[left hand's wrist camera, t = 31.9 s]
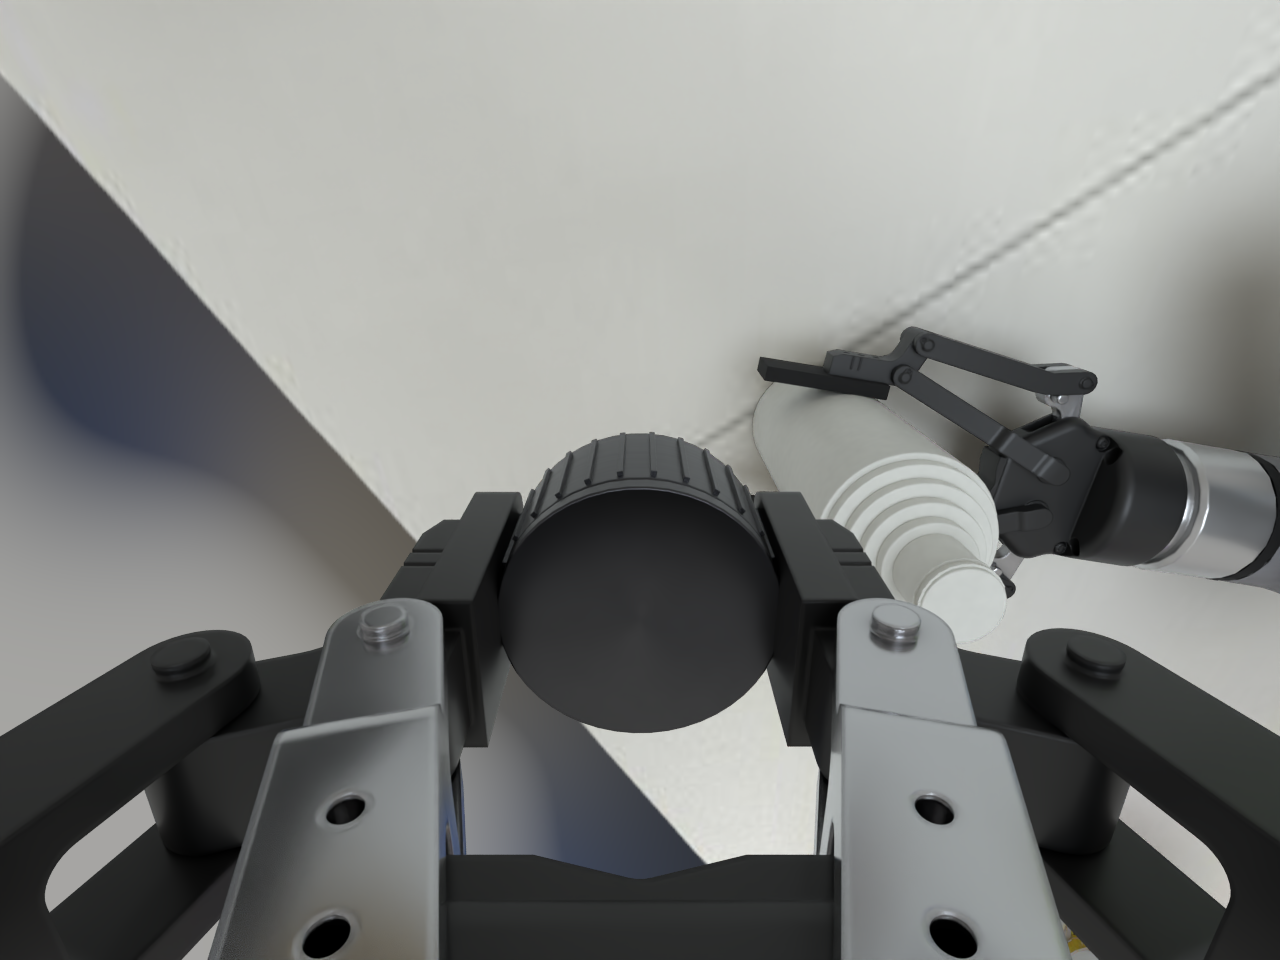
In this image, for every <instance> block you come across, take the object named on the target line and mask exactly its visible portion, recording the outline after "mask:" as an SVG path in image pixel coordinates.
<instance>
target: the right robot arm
mask: <svg viewBox="0 0 1280 960" xmlns="http://www.w3.org/2000/svg"><path fill="white" fill-rule="evenodd" d="M927 358H929V359H932V360H936V361H939V362H942V363H945V364H948V365H951V366H954V367H957V368H960V369H964V370H967V371H970V372H973V373H976V374H979V375H982V376H985V377H988V378H992V379H995V380H998V381H1001V382H1004V383H1007V384H1010V385H1013V386H1016V387H1020V388H1023V389H1026V390H1029V391H1032V392H1035V393H1036V398H1037V399H1038V401H1040V402H1042V403H1044V404H1046V405H1048V406H1051V408H1052V413H1051V414H1049V415H1047V416H1044V417H1042V418H1040V419H1038V420H1035V421H1033V422H1031V423H1028V424H1026V425H1024V426H1022V427H1019V428H1017V429H1015V430H1012V431H1011V430H1009V429H1007V428H1006V427H1004V426H1003V425H1001V424H999V423H998V422H996V421H995V420H993V419H992V418H990V417H988V416H987V415H985V414H984V413H982V412H981V411H979V410H978V409H976V408H975V407H973V406H971V405H970V404H968V403H967V402H965V401H964V400H962V399H961V398H959V397H957V396H956V395H954V394H953V393H951V392H950V391H948V390H947V389H945V388H943V387H942V386H940V385H939V384H937V383H936V382H934V381H933V380H931V379H929V378H928V377H926V376H925V375H923V374H922V373H920V372H919V371H918V370H919V369H920V368H921V366H922V365H923V363H924V362H925V361H926V359H927ZM757 370H758V372H759V373H760V375H761V376H762V377H763V379H764V380H765V381H771V382H778V383H784V384H790V385H796V386H802V387H808V388H815V389H821V390H827V391H833V392H839V393H845V394H851V395H858V396H864V397H870V398H876V399H882V400H886V399H887V396H888V393H889V389H890V386H889V385H893V386H897V387H898V388H900V389H902V390H903V391H905V392H906V393H908V394H909V395H911V396H913V397H914V398H916V399H917V400H919V401H921V402H922V403H924V404H925V405H927V406H928V407H930V408H932V409H933V410H935V411H936V412H938V413H939V414H941V415H943V416H944V417H946V418H947V419H949V420H950V421H952V422H954V423H955V424H957V425H958V426H960V427H961V428H963V429H965V430H966V431H968V432H969V433H971V434H973V435H974V436H976V437H977V438H979V439H980V440H982V441H984V442H985V443H987V444H988V445H989V447H988V446H984V448H983V451H982V454H981V457H980V466H979V473H978V474H977V475H978V476H979V478H980V479H981V480H982V481H983V482H984V484H985V485H986V487H987V488H988V490H989V492H990V493H991V496H992V498H993V501H994V504H995V508H996V512H997V519H998V527H999V538H998V539H999V540H1000V542H1001V543H1002V544H1003V545H1002V546H1001V548H999V549H998V550H996V554H995V557H994V560H993V562H992V564H991V566H990V568H991V569H992V570H993V571H994V572H995V573H996V574H997V575H998V576H999V577H1000V578H1001V580H1002V582H1003V584H1004V586H1005V591H1006V596H1007V598H1009V597H1011V596H1012V595H1013V594H1014V593H1015V590H1016V586H1015V585H1014V583H1013V582H1012V581H1011V580H1010V579H1011V578H1012V576H1013V574H1014V573H1015V571H1016V570H1017V568H1018V567H1019V565H1020V564H1021V562H1022V560H1023V559H1024V558H1033V557H1036V556H1040V555H1044V554H1056V555H1060V556H1065V557H1069V558H1075V559H1082V560H1088V561H1095V562H1101V563H1108V564H1114V565H1121V566H1134V567H1137V568H1139V569H1144V570H1151V571H1159V572H1166V573H1173V574H1180V575H1187V576H1194V577H1201V578H1206V579H1212V580H1221V581H1227V582H1233V583H1239V584H1244V585H1250V586H1256V587H1262V588H1265V589H1269V590H1272V591H1275V592H1277V593H1279V594H1280V457H1273V456H1267V455H1260V454H1254V453H1248V452H1242V451H1237V450H1230V449H1224V448H1219V447H1213V446H1207V445H1201V444H1196V443H1190V442H1184V441H1178V440H1173V439H1159V438H1157V437H1154V436H1149V435H1142V434H1136V433H1130V432H1124V431H1118V430H1112V429H1106V428H1099V427H1093V426H1090V425H1088V424H1087V423H1086V422H1085V421H1084V420H1083V419H1081V418H1080V412H1081V406H1082V401H1083V395H1084V394H1088V393H1090V392H1092V391H1093V390H1094V389H1095V387H1096V385H1097V377H1096V375H1095V374H1093V373H1092V372H1089V371H1086V370H1083V369H1080V368H1077V367H1074V366H1071V365H1069V364H1065V363H1053V364H1028V363H1025V362H1022V361H1019V360H1016V359H1013V358H1009V357H1006V356H1003V355H1000V354H997V353H994V352H991V351H988V350H985V349H982V348H979V347H976V346H973V345H969V344H966V343H963V342H960V341H957V340H954V339H951V338H948V337H945V336H942V335H939V334H936V333H933V332H929V331H926V330H923V329H920V328H917V327H909V328H907V329H905V330H904V331H903V332H902V334H901V337H900V342H899V344H898V345H897V347H896V348H895V350H894V351H893V352H892V353H890V354H889V355H884V356H874V355H868V354H862V353H855V352H850V351H844V350H838V349H836V350H832V351H827V354H826V357H825V361H824V365H823V367H820V366H814V365H807V364H801V363H795V362H789V361H783V360H777V359H771V358H765V357H760V360H759V364H758V369H757ZM751 498H752V500H753V503H754V498H755V495H751Z"/></svg>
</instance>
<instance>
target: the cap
mask: <svg viewBox="0 0 1280 960" xmlns="http://www.w3.org/2000/svg"><path fill="white" fill-rule="evenodd" d="M774 558H775V557H774V554H773V551H772V548H771V546H770V543H769V540H768V538H767V535H766V532H765V530H764V527H763V524H762V522H761V519H760V516H759V514H758V511H757V508H755V506H754V503H753V500H752V498H751V495H750V492H749V489H748V487H747V486H746V485H744V486H742V484H741V483H740V482H739V480H738V479H737V478H736V476H735V475H734V474H733V471H732V468H731V467H730V466H729V465H727V466H725V465H724V464H723V463H722V462H721V461H719V460H718V459H717V458H715V457H714V456H712V455H711V454H710V451H709V450H707V449H706V448H705V449H704V450H703V449H701V448H699V447H697V446H695V445H693V444H690V443H688V442H685V441H684V440H683V438H680V437H678V439H676V438H672V437H668V436H664V435H655V433H654V432H649V434H625V433H620V435H617V436H612V437H608V438H604V439H601V440H597V439H594V440H592V442H591V443H590V444H588V445H585V446H583V447H581V448H579V449H578V450H576V451H574V452H571V451H569V452H568V453H566V457H565V458H564V459H562V460H561V461H560V462H558V463H557V464H556V465H555V466H554V467H553V468H552V469H551V470H550V469H549V468H548V469H547V470H546V471H545V474H544V477H543V479H542V481H541V482H540V483H539V484H538V486H537V487H536V489H535V490H533V489H531V491H530V493H529V495H528V498H527V501H526V503H525V506H524V509H523V511H522V512H521V514H520V516H519V519H518V522H517V524H516V527H515V529H514V532H513V535H512V537H511V540H510V543H509V545H508V548H507V551H506V553H505V556H504V558H503V561H502V567H505V568H504V571H503V574H502V577H501V579H500V584H499V589H498V609H499V621H500V632H501V641H502V645H503V647H504V650H505V652H506V655H507V657H508V659H509V661H510V663H511V664H512V666H513V668H514V669H515V671H516V673H517V674H518V675H519V677H520V678H521V679H522V680H523V682H524V683H525V684H526V685H527V686H528V687H529V688H530V689H531V690H532V691H533V692H534V693H535V694H536V695H537V696H538V697H539V698H540V699H542V700H543V701H544V702H546V703H547V704H548V705H550V706H551V707H552V708H554V709H556V710H558V711H559V712H561V713H563V714H564V715H566V716H568V717H570V718H573V719H575V720H577V721H580V722H582V723H585V724H588V725H591V726H594V727H597V728H602V729H607V730H612V731H617V732H628V733H653V732H662V731H669V730H674V729H678V728H683V727H686V726H689V725H692V724H695V723H698V722H701V721H703V720H705V719H707V718H710V717H712V716H714V715H716V714H718V713H719V712H721V711H723V710H724V709H726V708H728V707H729V706H731V705H732V704H733V703H735V702H736V701H737V700H738V699H740V698H741V697H742V696H743V695H744V694H745V693H746V692H747V691H748V690H749V689H750V688H751V687H752V686H753V685H754V684H755V683H756V682H757V681H758V679H759V678H760V677H761V675H762V674H763V673H764V671H765V670H766V668H767V666H768V665H769V663H770V661H771V659H772V657H773V653H774V643H775V631H776V619H777V607H778V596H779V576H778V573H777V570H776V568H775V565H774Z"/></svg>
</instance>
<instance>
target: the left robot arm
mask: <svg viewBox="0 0 1280 960" xmlns="http://www.w3.org/2000/svg"><path fill="white" fill-rule="evenodd" d="M754 506H755V508H757V511H758V514H759V516H760V519H761V522H762V524H763V527H764V530H765V532H766V535H767V538H768V540H769V543H770V546H771V548H772V551H773V554H774V557H775V558H774V565H775V568H776V570H777V573H778V576H779V596H778V607H777V619H776V631H775V643H774V653H773V657H772V659H771V661H770V663H769V665H768V666H767V672H768V675H769V679H770V683H771V687H772V690H773V694H774V698H775V702H776V705H777V709H778V713H779V716H780V720H781V724H782V728H783V731H784V735H785V739H786V743H787V746H812V749H813V752H814V755H815V758H816V762H817V764H818V767H819V772H818V780H817V792H816V814H815V837H814V855H744V856H740V857H736V858H731V859H727V860H723V861H719V862H715V863H711V864H707V865H703V866H698V867H694V868H690V869H686V870H682V871H678V872H674V873H670V874H665V875H661V876H657V877H653V878H647V879H632V878H627V877H623V876H618V875H615V874H610V873H606V872H602V871H598V870H594V869H590V868H586V867H581V866H577V865H573V864H569V863H565V862H561V861H557V860H553V859H549V858H544V857H540V856H536V855H466V837H465V814H464V792H463V780H462V772H461V764H460V756H461V753H462V750H463V747H488V745H489V741H490V737H491V734H492V730H493V726H494V723H495V719H496V716H497V712H498V708H499V705H500V701H501V697H502V694H503V690H504V687H505V683H506V679H507V676H508V672H509V669H510V665H511V663H510V661H509V659H508V657H507V655H506V652H505V650H504V647H503V645H502V641H501V632H500V621H499V609H498V589H499V584H500V579H501V577H502V574H503V571H504V568H505V567H502V561H503V558H504V556H505V553H506V551H507V548H508V545H509V543H510V540H511V537H512V535H513V532H514V529H515V527H516V524H517V522H518V519H519V516H520V514H521V512H522V511H523V501H522V497H521V494H520V492H476V493H475V494H474V496H473V498H472V499H471V501H470V503H469V505H468V507H467V508H466V510H465V512H464V514H463V516H462V517H461V519H460V520H443V521H441V522H440V523H438V524H437V525H435V526H434V527H432V528H431V529H429V530H427V531H426V532H424V533H423V534H422V535H421V537H420V539H419V540H418V542H417V543H416V545H415V547H414V548H413V551H412V553H410V554H409V556H408V557H407V559H406V560H405V562H404V566H402V567H401V568H400V570H399V571H398V573H397V574H396V576H395V577H394V579H393V580H392V582H391V583H390V585H389V587H388V588H387V590H386V591H385V593H384V594H383V596H382V597H381V599H380V600H379V601H376V602H372V603H368V604H366V605H363V606H360V607H358V608H355V609H353V610H351V611H349V612H348V613H346V614H344V615H343V616H341V617H340V618H339V619H337V620H336V621H335V622H334V623H333V624H332V625H331V627H330V628H329V630H328V632H327V634H326V637H325V641H324V645H323V647H321V648H318V649H315V650H311V651H307V652H303V653H298V654H293V655H287V656H282V657H277V658H272V659H266V660H261V661H256V662H255V658H254V654H253V650H252V646H251V643H250V641H249V640H248V639H247V638H246V637H245V636H243V635H242V634H239V633H236V632H233V631H226V630H208V631H200V632H194V633H189V634H185V635H181V636H178V637H174V638H171V639H168V640H166V641H163V642H160V643H158V644H156V645H154V646H151V647H149V648H147V649H146V650H144V651H142V652H140V653H139V654H137V655H135V656H133V657H132V658H130V659H128V660H127V661H125V662H124V663H122V664H120V665H119V666H117V667H115V668H113V669H112V670H110V671H108V672H107V673H105V674H103V675H102V676H100V677H98V678H97V679H95V680H93V681H92V682H90V683H88V684H87V685H85V686H84V687H82V688H80V689H79V690H77V691H75V692H73V693H72V694H70V695H68V696H67V697H65V698H63V699H62V700H60V701H58V702H57V703H55V704H54V705H52V706H50V707H48V708H47V709H45V710H44V711H42V712H40V713H38V714H37V715H35V716H33V717H32V718H30V719H29V720H27V721H25V722H23V723H22V724H20V725H18V726H17V727H15V728H14V729H12V730H10V731H9V732H7V733H5V734H4V735H2V736H0V960H182V959H183V957H184V956H185V955H186V954H187V953H188V952H189V951H190V950H191V949H192V948H193V947H194V946H195V945H196V944H197V943H198V942H199V940H200V939H201V938H202V937H203V936H204V935H205V934H206V933H207V932H208V931H209V930H210V929H211V928H212V927H213V926H214V925H215V923H216V922H217V921H218V920H219V919H220V920H219V924H218V927H217V930H216V933H215V937H214V940H213V943H212V947H211V950H210V953H209V957H208V960H1072V957H1071V953H1070V950H1069V947H1068V943H1067V940H1066V937H1065V933H1064V930H1063V927H1062V923H1061V920H1062V921H1063V922H1064V923H1065V925H1066V926H1067V927H1068V928H1069V929H1070V930H1071V931H1072V932H1073V933H1074V934H1075V935H1076V936H1077V937H1078V938H1079V939H1080V941H1081V942H1082V943H1083V944H1084V945H1085V946H1086V947H1087V948H1088V949H1089V950H1090V951H1091V952H1092V953H1093V954H1094V955H1095V956H1096V958H1097V959H1098V960H1280V736H1278V735H1277V734H1275V733H1273V732H1272V731H1270V730H1268V729H1267V728H1265V727H1263V726H1262V725H1260V724H1258V723H1257V722H1255V721H1253V720H1252V719H1250V718H1248V717H1247V716H1245V715H1243V714H1242V713H1240V712H1238V711H1237V710H1235V709H1233V708H1232V707H1230V706H1228V705H1227V704H1225V703H1223V702H1222V701H1220V700H1218V699H1217V698H1215V697H1213V696H1212V695H1210V694H1208V693H1207V692H1205V691H1203V690H1202V689H1200V688H1198V687H1197V686H1195V685H1193V684H1192V683H1190V682H1188V681H1187V680H1185V679H1183V678H1182V677H1180V676H1178V675H1177V674H1175V673H1173V672H1172V671H1170V670H1168V669H1167V668H1165V667H1163V666H1162V665H1160V664H1158V663H1157V662H1155V661H1153V660H1152V659H1150V658H1148V657H1147V656H1145V655H1143V654H1142V653H1140V652H1138V651H1136V650H1135V649H1133V648H1131V647H1129V646H1127V645H1125V644H1123V643H1121V642H1118V641H1116V640H1114V639H1111V638H1108V637H1105V636H1102V635H1099V634H1095V633H1091V632H1087V631H1082V630H1075V629H1064V628H1056V629H1047V630H1042V631H1039V632H1036V633H1034V634H1033V635H1031V636H1030V637H1029V638H1028V640H1027V642H1026V646H1025V650H1024V654H1023V658H1022V661H1018V660H1012V659H1007V658H1002V657H996V656H991V655H986V654H981V653H975V652H971V651H966V650H962V649H959V648H957V645H956V641H955V637H954V634H953V632H952V630H951V628H950V627H949V625H948V624H947V623H946V622H945V621H944V620H943V619H941V618H940V617H939V616H937V615H936V614H934V613H932V612H931V611H929V610H927V609H925V608H922V607H920V606H917V605H915V604H912V603H908V602H904V601H900V600H895V598H894V597H893V595H892V593H891V592H890V590H889V589H888V587H887V586H886V584H885V582H884V581H883V579H882V578H881V576H880V574H879V573H878V571H877V570H876V568H875V567H874V566H872V562H871V560H870V559H869V557H868V556H867V554H866V552H863V548H862V546H861V545H860V543H859V541H858V540H857V538H856V537H855V535H854V534H853V533H852V532H851V531H849V530H848V529H846V528H845V527H843V526H842V525H840V524H838V523H837V522H835V521H834V520H832V519H815V517H814V515H813V514H812V512H811V510H810V508H809V506H808V504H807V503H806V501H805V499H804V497H803V495H802V494H801V492H756V494H755V498H754ZM1130 785H1131V786H1132V787H1133V788H1134V789H1136V790H1137V791H1138V792H1140V793H1141V794H1142V795H1143V796H1145V797H1146V798H1147V799H1148V800H1150V801H1151V802H1152V803H1154V804H1155V805H1156V806H1157V807H1159V808H1160V809H1161V810H1162V811H1164V812H1165V813H1166V814H1168V815H1169V816H1170V817H1171V818H1173V819H1174V820H1175V821H1176V822H1178V823H1179V824H1180V825H1182V826H1183V827H1184V828H1185V829H1187V830H1188V831H1189V832H1190V833H1192V834H1193V835H1194V836H1196V837H1197V838H1198V839H1199V840H1201V841H1202V842H1203V843H1204V844H1205V845H1206V846H1207V847H1208V848H1209V849H1210V850H1211V851H1212V852H1213V853H1214V855H1215V856H1216V857H1217V859H1218V860H1219V861H1220V863H1221V865H1222V866H1223V868H1224V870H1225V872H1226V874H1227V877H1228V880H1229V883H1230V889H1231V897H1230V900H1229V903H1228V906H1227V908H1226V909H1225V908H1224V907H1223V906H1222V905H1221V904H1220V903H1218V902H1217V901H1216V900H1215V899H1214V898H1212V897H1211V896H1210V895H1209V894H1208V893H1207V892H1205V891H1204V890H1203V889H1202V888H1201V887H1199V886H1198V885H1197V884H1196V883H1195V882H1193V881H1192V880H1191V879H1190V878H1189V877H1188V876H1186V875H1185V874H1184V873H1183V872H1182V871H1180V870H1179V869H1178V868H1177V867H1176V866H1175V865H1173V864H1172V863H1171V862H1170V861H1169V860H1167V859H1166V858H1165V857H1164V856H1163V855H1161V854H1160V853H1159V852H1158V851H1157V850H1156V849H1154V848H1153V847H1152V846H1151V845H1150V844H1148V843H1147V842H1146V841H1145V840H1144V839H1142V838H1141V837H1140V836H1139V835H1138V834H1137V833H1135V832H1134V831H1133V830H1132V829H1131V828H1129V827H1128V826H1127V825H1126V824H1125V823H1124V822H1122V821H1121V820H1120V819H1119V816H1120V813H1121V810H1122V807H1123V804H1124V801H1125V798H1126V796H1127V793H1128V790H1129V787H1130ZM143 790H145V793H146V796H147V799H148V801H149V804H150V807H151V810H152V813H153V816H154V819H155V822H156V823H155V824H154V825H153V826H152V827H151V828H149V829H148V830H147V831H146V832H145V833H143V834H142V835H141V836H140V837H139V838H137V839H136V840H135V841H134V842H133V843H132V844H130V845H129V846H128V847H127V848H126V849H124V850H123V851H122V852H121V853H120V854H119V855H117V856H116V857H115V858H114V859H113V860H111V861H110V862H109V863H108V864H107V865H105V866H104V867H103V868H102V869H101V870H100V871H98V872H97V873H96V874H95V875H94V876H93V877H91V878H90V879H89V880H88V881H87V882H85V883H84V884H83V885H82V886H81V887H79V888H78V889H77V890H76V891H75V892H73V893H72V894H71V895H70V896H69V897H68V898H66V899H65V900H64V901H63V902H62V903H60V904H59V905H58V906H57V907H56V908H54V909H53V910H52V911H51V912H50V913H49V911H48V909H47V906H46V903H45V889H46V885H47V882H48V879H49V877H50V875H51V873H52V871H53V869H54V867H55V866H56V864H57V863H58V861H59V860H60V859H61V857H62V856H63V855H64V854H65V853H66V852H67V851H68V850H69V849H70V848H71V847H72V846H73V845H74V844H76V843H77V842H78V841H79V840H81V839H82V838H83V837H84V836H86V835H87V834H88V833H90V832H91V831H92V830H93V829H95V828H96V827H97V826H98V825H100V824H101V823H102V822H104V821H105V820H106V819H107V818H109V817H110V816H111V815H112V814H114V813H115V812H116V811H118V810H119V809H120V808H121V807H123V806H124V805H125V804H126V803H128V802H129V801H130V800H132V799H133V798H134V797H135V796H137V795H138V794H139V793H140V792H142V791H143ZM1060 919H1061V920H1060Z"/></svg>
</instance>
